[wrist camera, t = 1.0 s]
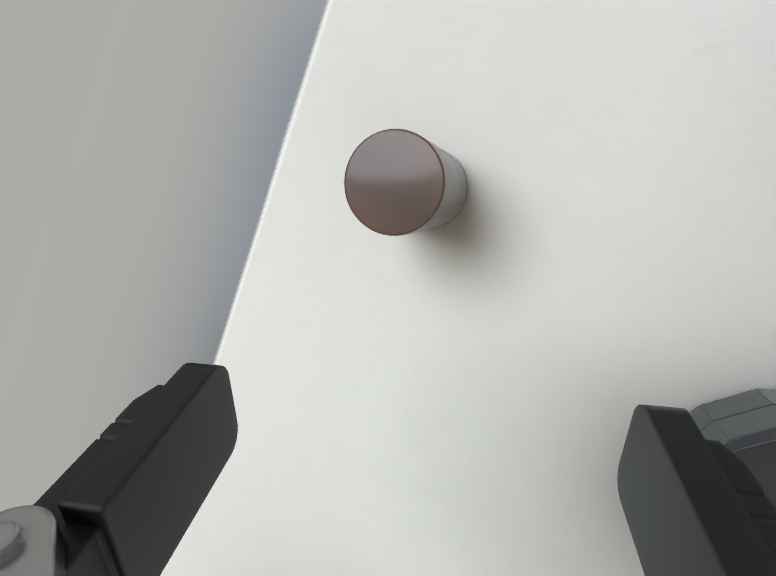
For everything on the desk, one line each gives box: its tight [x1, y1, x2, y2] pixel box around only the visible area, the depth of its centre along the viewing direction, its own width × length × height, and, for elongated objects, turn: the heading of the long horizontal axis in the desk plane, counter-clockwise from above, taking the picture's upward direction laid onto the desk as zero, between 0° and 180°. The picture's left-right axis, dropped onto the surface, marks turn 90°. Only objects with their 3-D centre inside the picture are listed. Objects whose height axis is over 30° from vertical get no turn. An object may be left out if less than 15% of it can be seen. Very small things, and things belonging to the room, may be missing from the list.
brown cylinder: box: [344, 129, 468, 236], centre depth 24 cm, size 4×4×8 cm
